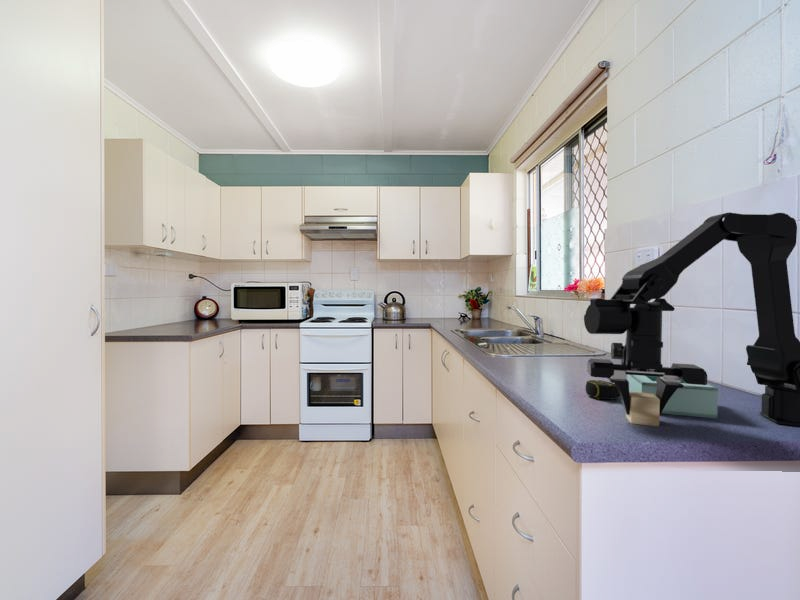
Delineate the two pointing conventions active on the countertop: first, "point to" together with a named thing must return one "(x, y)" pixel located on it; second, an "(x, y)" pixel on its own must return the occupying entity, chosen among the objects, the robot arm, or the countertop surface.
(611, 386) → the tape measure
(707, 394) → the teal box
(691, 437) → the countertop surface
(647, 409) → the pine block
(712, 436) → the countertop surface
